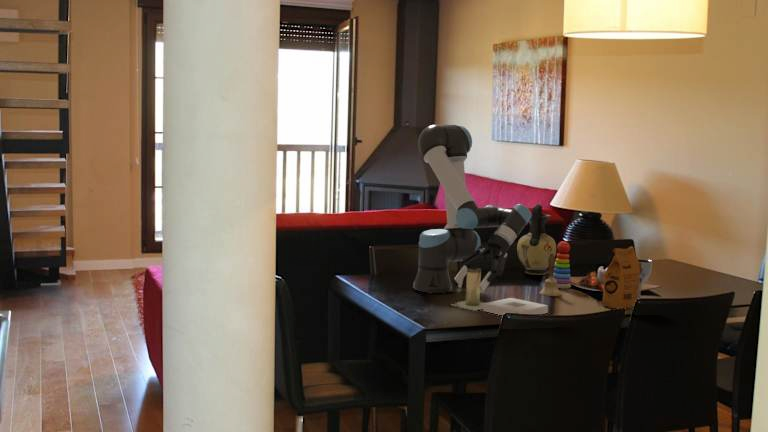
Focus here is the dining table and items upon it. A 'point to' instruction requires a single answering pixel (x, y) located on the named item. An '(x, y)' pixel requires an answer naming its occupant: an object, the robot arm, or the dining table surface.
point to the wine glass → (644, 272)
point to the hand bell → (550, 280)
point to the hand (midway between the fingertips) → (468, 284)
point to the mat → (471, 306)
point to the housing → (514, 307)
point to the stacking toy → (562, 266)
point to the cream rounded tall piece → (536, 244)
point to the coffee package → (622, 279)
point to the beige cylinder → (473, 286)
